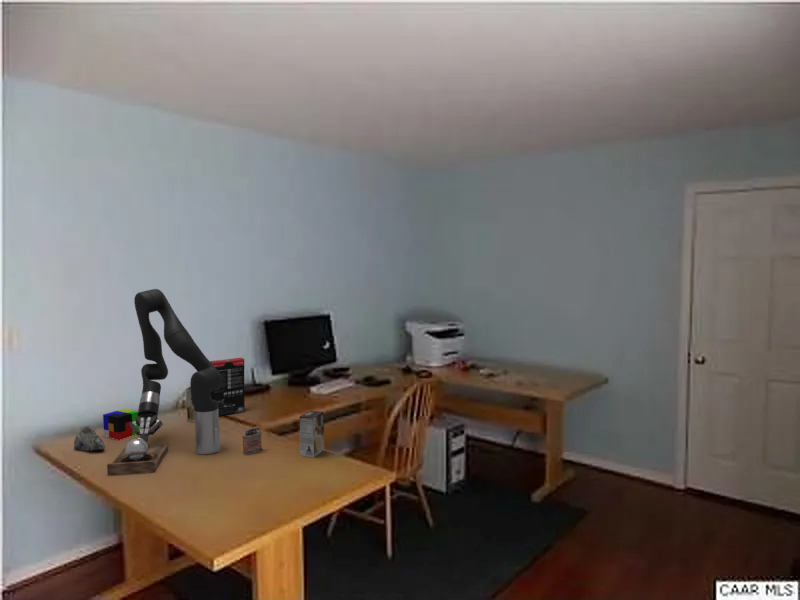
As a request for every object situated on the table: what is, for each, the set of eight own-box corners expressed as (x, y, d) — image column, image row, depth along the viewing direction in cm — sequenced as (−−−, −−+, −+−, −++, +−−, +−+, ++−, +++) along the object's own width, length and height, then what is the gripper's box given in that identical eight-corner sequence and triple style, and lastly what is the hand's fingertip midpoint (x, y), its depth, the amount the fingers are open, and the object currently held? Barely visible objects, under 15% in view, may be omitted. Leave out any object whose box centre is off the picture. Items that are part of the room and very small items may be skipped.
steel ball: (147, 433, 223) (141, 449, 217) (152, 447, 228) (147, 463, 221) (126, 434, 223) (119, 450, 216) (131, 448, 227) (125, 464, 221)
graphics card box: (240, 409, 297) (239, 356, 295) (246, 412, 292) (244, 358, 290) (207, 415, 286) (205, 360, 284) (213, 418, 281) (211, 362, 279)
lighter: (244, 455, 230) (244, 430, 230) (241, 453, 233) (240, 428, 232) (263, 451, 236) (263, 426, 235) (259, 448, 238) (259, 424, 237)
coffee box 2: (310, 448, 239) (310, 410, 237) (324, 450, 237) (324, 411, 235) (299, 455, 230) (299, 416, 229) (314, 457, 228) (313, 417, 226)
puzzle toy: (104, 436, 254) (103, 414, 253) (124, 430, 263) (123, 408, 262) (119, 440, 249) (118, 417, 249) (139, 433, 258) (138, 411, 257)
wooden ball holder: (168, 450, 237) (167, 440, 237) (154, 472, 213) (154, 461, 213) (126, 452, 234) (125, 442, 234) (107, 475, 211) (107, 464, 210)
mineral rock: (106, 452, 234) (105, 428, 233) (75, 457, 229) (74, 433, 228) (102, 443, 245) (101, 420, 244) (73, 448, 239) (72, 424, 238)
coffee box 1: (211, 418, 281) (210, 385, 279) (204, 422, 274) (203, 388, 273) (193, 417, 282) (192, 385, 281) (186, 421, 276) (185, 388, 274)
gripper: (129, 401, 236) (122, 440, 225) (164, 399, 238) (158, 438, 227) (134, 410, 241) (127, 449, 230) (167, 409, 244) (162, 447, 233)
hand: (142, 444), depth 229 cm, fingers closed
